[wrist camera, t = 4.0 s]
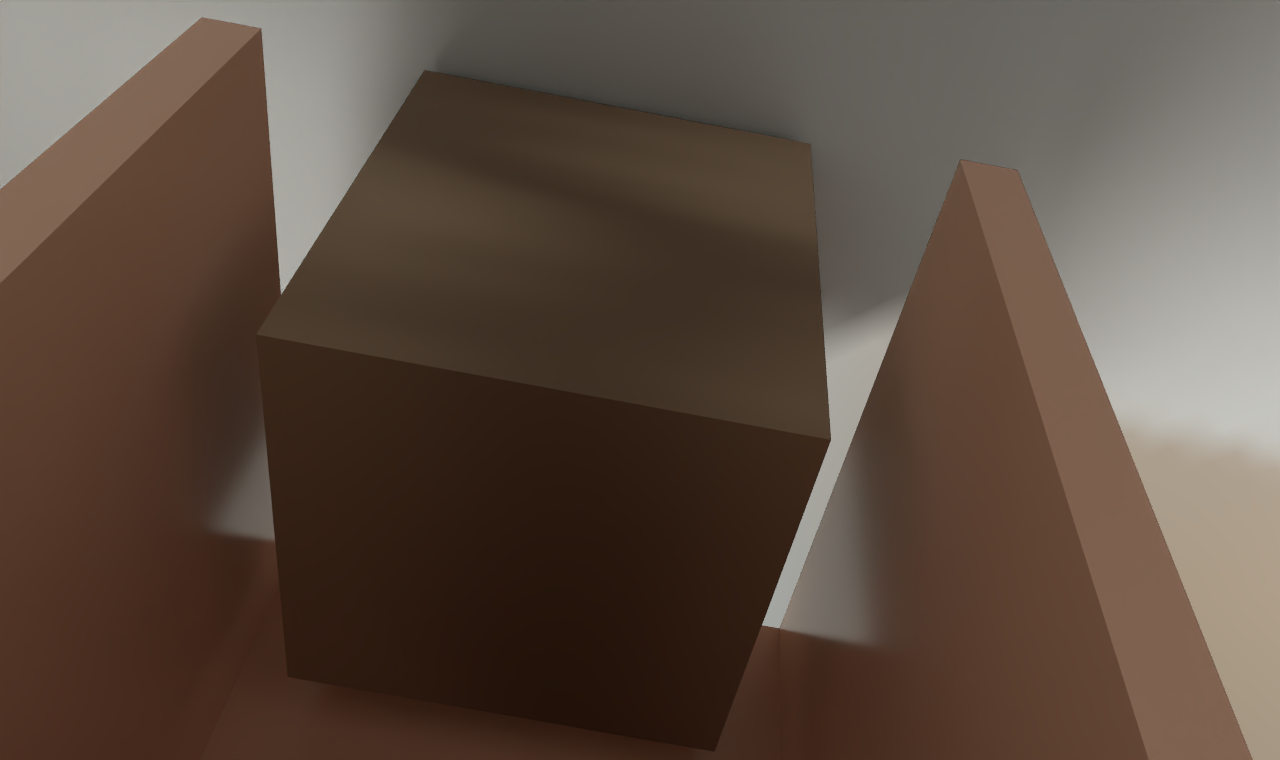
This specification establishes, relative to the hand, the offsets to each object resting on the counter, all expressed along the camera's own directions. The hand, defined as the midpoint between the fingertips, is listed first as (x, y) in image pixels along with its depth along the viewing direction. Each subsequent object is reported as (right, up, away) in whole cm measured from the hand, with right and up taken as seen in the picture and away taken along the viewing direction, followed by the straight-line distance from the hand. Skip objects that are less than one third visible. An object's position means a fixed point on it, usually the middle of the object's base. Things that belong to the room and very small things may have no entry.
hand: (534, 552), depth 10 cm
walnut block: (0, +3, +4) cm, 5 cm away
